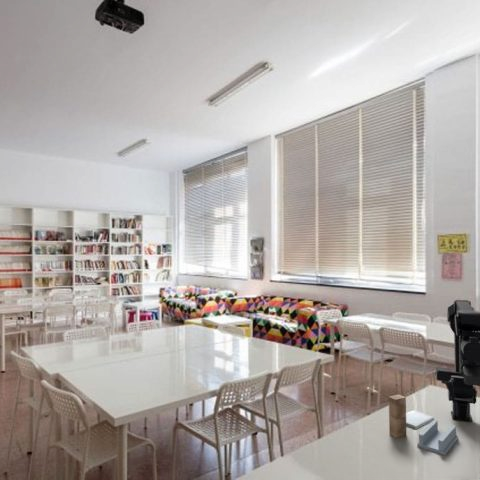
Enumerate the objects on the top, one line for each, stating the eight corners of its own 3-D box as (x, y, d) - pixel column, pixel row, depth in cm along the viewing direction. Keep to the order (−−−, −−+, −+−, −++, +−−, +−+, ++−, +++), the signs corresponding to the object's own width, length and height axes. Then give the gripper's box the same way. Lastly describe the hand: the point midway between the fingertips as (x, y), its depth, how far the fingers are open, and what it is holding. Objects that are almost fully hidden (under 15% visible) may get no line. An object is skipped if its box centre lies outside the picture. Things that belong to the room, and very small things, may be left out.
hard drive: (415, 426, 138) (433, 416, 145) (393, 418, 144) (412, 409, 152) (415, 431, 138) (433, 421, 145) (393, 422, 144) (412, 413, 152)
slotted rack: (432, 431, 136) (432, 419, 136) (458, 438, 130) (457, 426, 130) (417, 446, 126) (417, 433, 126) (444, 455, 120) (444, 441, 120)
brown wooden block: (399, 431, 136) (398, 394, 136) (406, 435, 133) (405, 397, 133) (389, 434, 134) (388, 396, 134) (396, 437, 131) (395, 399, 132)
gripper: (437, 357, 117) (438, 410, 117) (512, 363, 110) (514, 421, 110) (435, 348, 128) (436, 397, 127) (504, 353, 120) (505, 406, 120)
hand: (471, 405), depth 121 cm, fingers open, 9 cm apart
